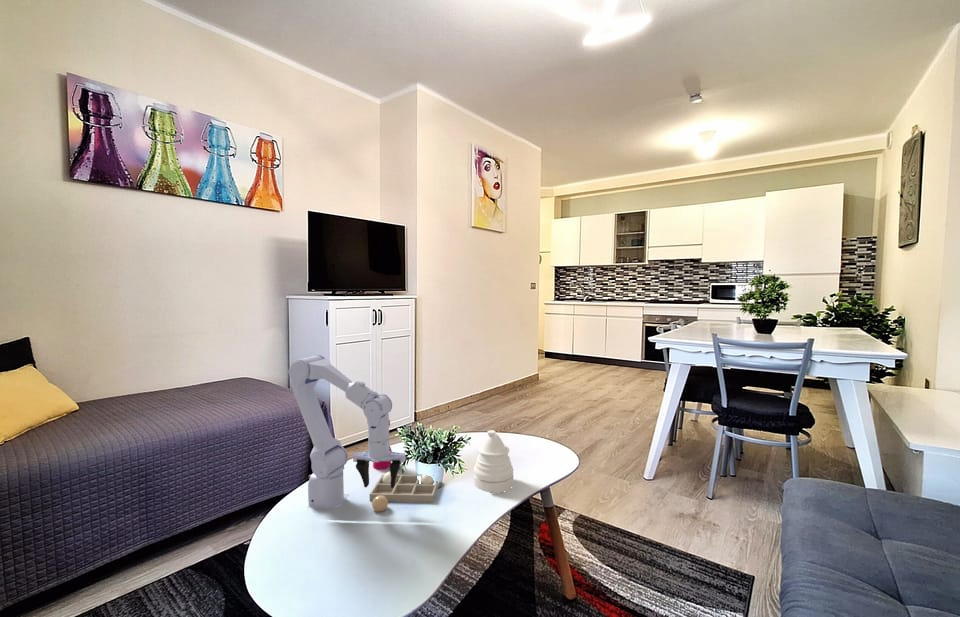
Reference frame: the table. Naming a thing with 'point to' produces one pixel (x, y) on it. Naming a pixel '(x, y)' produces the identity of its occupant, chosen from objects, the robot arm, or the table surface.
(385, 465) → the pepper mill
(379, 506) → the tan orange ball
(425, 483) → the cream egg right
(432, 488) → the carton
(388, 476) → the cream egg left
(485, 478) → the honey pot
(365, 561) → the table surface
